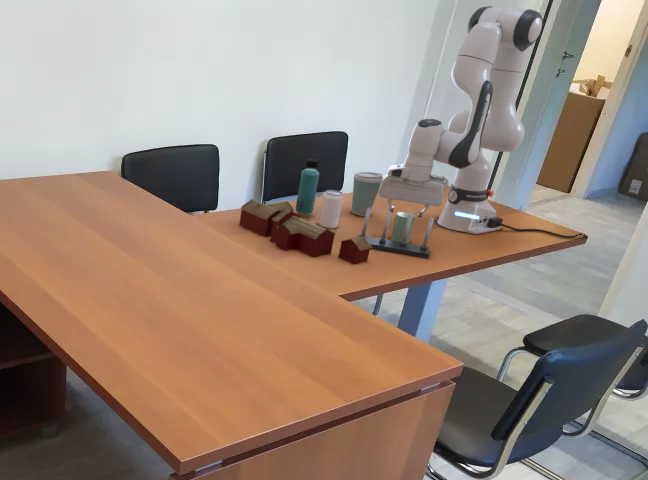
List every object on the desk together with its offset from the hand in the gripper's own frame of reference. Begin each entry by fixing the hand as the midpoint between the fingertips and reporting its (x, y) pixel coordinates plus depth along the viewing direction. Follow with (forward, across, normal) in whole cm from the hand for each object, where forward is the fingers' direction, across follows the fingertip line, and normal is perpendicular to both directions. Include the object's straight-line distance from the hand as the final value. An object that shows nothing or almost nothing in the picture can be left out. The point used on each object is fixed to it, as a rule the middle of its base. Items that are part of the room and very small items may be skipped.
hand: (405, 214), depth 235 cm
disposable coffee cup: (+9, +15, -25) cm, 31 cm away
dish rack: (+9, +2, +9) cm, 13 cm away
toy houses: (+10, +30, +19) cm, 37 cm away
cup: (+9, 0, -1) cm, 9 cm away
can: (+10, +24, -3) cm, 26 cm away
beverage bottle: (+10, +34, -11) cm, 37 cm away
